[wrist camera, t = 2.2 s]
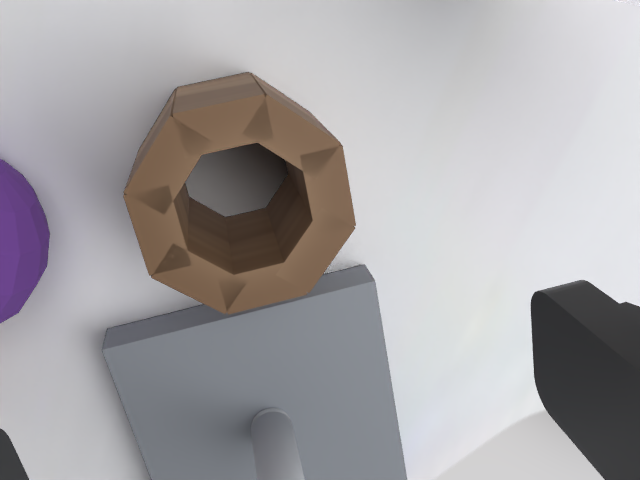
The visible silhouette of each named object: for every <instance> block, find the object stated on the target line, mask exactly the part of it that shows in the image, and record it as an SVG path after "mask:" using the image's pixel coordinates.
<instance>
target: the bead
mask: <svg viewBox="0 0 640 480" xmlns="http://www.w3.org/2000/svg"><path fill="white" fill-rule="evenodd" d="M253 143H259V144H260V145H262V146H264V147H265V148H267V149H268V150H270V151H272V152H273V153H275V154H276V155H278V156H280V157H281V158H283V159H284V160H285V161H286V165H287V170H288V175H287V177H286V178H285V180H284V181H283V183H282V184H281V186H280V187H279V189H278V190H277V192H276V193H275V195H274V196H273V198H272V199H271V201H270V202H269V204H268V205H267V207H266V208H263V209H259V210H255V211H251V212H246V213H242V214H238V215H234V216H230V217H224V216H222V215H220V214H218V213H217V212H215V211H213V210H211V209H210V208H208V207H206V206H204V205H202V204H201V203H199V202H197V201H195V200H194V199H192V198H190V197H189V195H188V192H187V188H186V185H185V181H186V180H187V178H188V176H189V175H190V173H191V172H192V170H193V168H194V167H195V165H196V163H197V162H198V160H199V159H200V157H201V155H204V154H208V153H212V152H217V151H221V150H226V149H230V148H235V147H239V146H244V145H248V144H253ZM123 196H124V200H125V203H126V206H127V209H128V212H129V215H130V218H131V221H132V224H133V227H134V230H135V233H136V236H137V239H138V242H139V246H140V249H141V252H142V255H143V258H144V261H145V264H146V267H147V270H148V273H149V276H150V275H151V278H153V279H155V280H157V281H159V282H161V283H163V284H165V285H167V286H169V287H171V288H173V289H175V290H177V291H179V292H181V293H183V294H185V295H187V296H189V297H191V298H193V299H195V300H197V301H199V302H201V303H203V304H205V305H207V306H209V307H211V308H213V309H215V310H217V311H219V312H221V313H223V314H226V313H228V315H229V314H233V313H237V312H241V311H245V310H249V309H252V308H256V307H260V306H264V305H268V304H272V303H276V302H280V301H284V300H288V299H292V298H296V297H300V296H304V295H307V292H308V293H310V292H311V290H312V289H313V287H314V286H315V284H316V283H317V282H318V280H319V279H320V277H321V276H322V275H323V273H324V272H325V270H326V269H327V267H328V266H329V265H330V263H331V262H332V260H333V259H334V258H335V256H336V255H337V253H338V252H339V250H340V249H341V248H342V246H343V245H344V243H345V242H346V241H347V239H348V238H349V236H350V235H351V233H352V232H353V231H354V229H355V227H354V226H356V223H355V217H354V211H353V205H352V199H351V193H350V187H349V181H348V175H347V170H346V164H345V158H344V152H343V146H342V145H341V143H340V142H339V141H338V140H337V139H336V138H335V137H334V136H333V135H332V134H331V133H330V132H329V131H328V130H327V129H326V128H325V127H324V126H323V125H322V124H321V123H320V122H319V121H318V120H317V119H316V118H315V117H314V116H313V115H312V114H311V113H310V112H309V111H308V110H306V109H305V108H303V107H302V106H300V105H299V104H297V103H296V102H294V101H293V100H291V99H290V98H288V97H287V96H285V95H284V94H282V93H281V92H279V91H278V90H276V89H275V88H273V87H272V86H270V85H269V84H267V83H266V82H264V81H263V80H261V79H260V78H258V77H257V76H256V75H254V74H253V73H249V72H246V73H241V74H237V75H232V76H227V77H223V78H218V79H213V80H208V81H204V82H199V83H194V84H189V85H185V86H180V87H177V89H175V90H174V92H173V93H172V95H171V97H170V98H169V100H168V102H167V103H166V105H165V107H164V108H163V110H162V112H161V113H160V115H159V117H158V118H157V120H156V122H155V123H154V125H153V127H152V128H151V130H150V132H149V133H148V135H147V137H146V138H145V140H144V142H143V143H142V145H141V147H140V149H139V151H138V154H137V156H136V159H135V162H134V165H133V168H132V170H131V173H130V176H129V179H128V182H127V184H126V187H125V190H124V195H123Z"/></svg>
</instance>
